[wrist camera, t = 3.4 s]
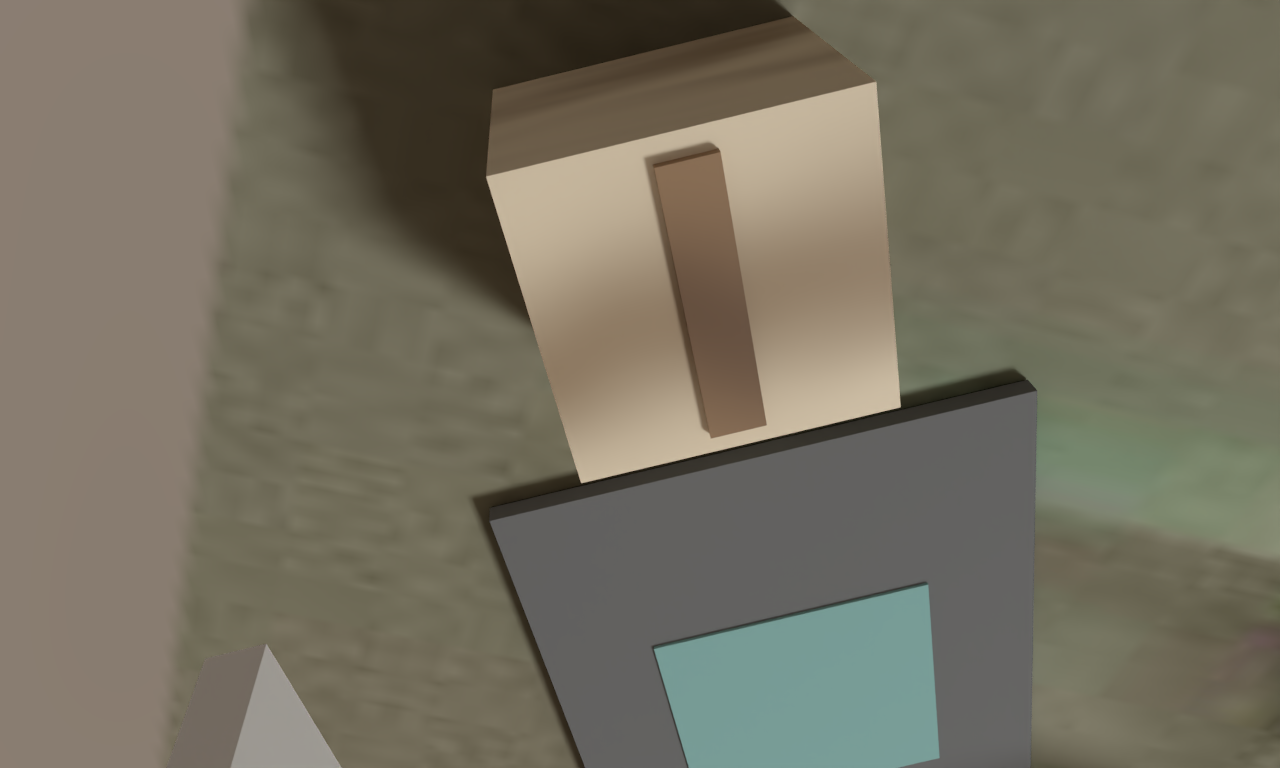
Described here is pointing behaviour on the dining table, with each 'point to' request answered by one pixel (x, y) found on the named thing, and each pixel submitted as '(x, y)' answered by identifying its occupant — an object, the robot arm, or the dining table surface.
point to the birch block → (700, 243)
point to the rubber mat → (798, 597)
